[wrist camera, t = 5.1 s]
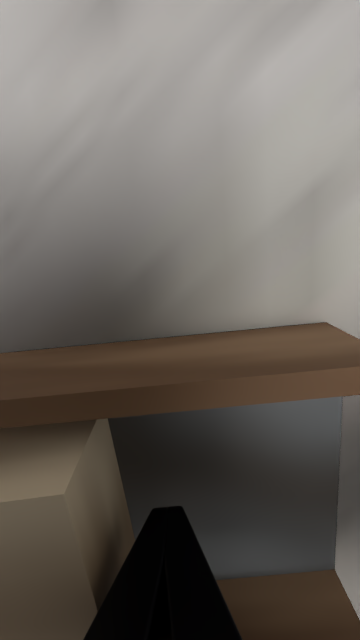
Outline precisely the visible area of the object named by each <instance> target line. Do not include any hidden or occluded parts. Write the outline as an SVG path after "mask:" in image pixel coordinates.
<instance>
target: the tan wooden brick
mask: <svg viewBox="0 0 360 640" xmlns="http://www.w3.org/2000/svg"><path fill="white" fill-rule="evenodd" d="M134 542H135V538H134V533H133V529H132V524H131V520H130V515H129V511H128V507H127V502H126V498H125V493H124V489H123V484H122V480H121V476H120V471H119V467H118V462H117V458H116V453H115V449H114V445H113V440H112V436H111V431H110V427H109V422H108V418H106V419H95V420H85V421H74V422H63V423H53V424H42V425H31V426H21V427H10V428H0V640H83V639H84V637H85V635H86V633H87V631H88V629H89V627H90V625H91V623H92V622H93V620H94V618H95V616H96V614H97V612H98V610H99V608H100V606H101V605H102V603H103V601H104V599H105V597H106V595H107V593H108V591H109V589H110V587H111V586H112V584H113V582H114V580H115V578H116V576H117V574H118V572H119V570H120V568H121V567H122V565H123V563H124V561H125V559H126V557H127V555H128V553H129V551H130V549H131V548H132V546H133V544H134Z"/></svg>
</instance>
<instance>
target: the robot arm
mask: <svg viewBox="0 0 360 640" xmlns="http://www.w3.org/2000/svg"><path fill="white" fill-rule="evenodd" d="M83 640H243V639H242V637H241V635H240V633H239V630H238V628H237V626H236V624H235V622H234V619H233V617H232V615H231V613H230V610H229V608H228V606H227V604H226V602H225V599H224V597H223V595H222V593H221V590H220V588H219V586H218V584H217V582H216V579H215V577H214V575H213V573H212V570H211V568H210V566H209V564H208V562H207V559H206V557H205V555H204V553H203V550H202V548H201V546H200V544H199V542H198V539H197V537H196V535H195V533H194V530H193V528H192V526H191V524H190V522H189V519H188V517H187V515H186V513H185V510H184V508H183V507H182V506H169V507H158V508H153V509H152V510H151V512H150V513H149V515H148V517H147V519H146V521H145V523H144V525H143V527H142V529H141V531H140V532H139V534H138V536H137V538H136V540H135V542H134V544H133V546H132V548H131V549H130V551H129V553H128V555H127V557H126V559H125V561H124V563H123V565H122V567H121V568H120V570H119V572H118V574H117V576H116V578H115V580H114V582H113V584H112V586H111V587H110V589H109V591H108V593H107V595H106V597H105V599H104V601H103V603H102V605H101V606H100V608H99V610H98V612H97V614H96V616H95V618H94V620H93V622H92V623H91V625H90V627H89V629H88V631H87V633H86V635H85V637H84V639H83Z"/></svg>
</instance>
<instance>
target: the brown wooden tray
mask: <svg viewBox="0 0 360 640" xmlns="http://www.w3.org/2000/svg"><path fill="white" fill-rule="evenodd" d="M352 395H360V339H358V338H356V337H354V336H352V335H350V334H348V333H346V332H344V331H342V330H340V329H338V328H336V327H334V326H332V325H330V324H328V323H326V322H325V323H315V324H304V325H293V326H283V327H272V328H262V329H251V330H241V331H230V332H220V333H209V334H198V335H188V336H177V337H167V338H156V339H146V340H135V341H125V342H114V343H103V344H93V345H82V346H72V347H61V348H51V349H40V350H30V351H19V352H8V353H0V428H10V427H21V426H31V425H42V424H53V423H63V422H74V421H85V420H95V419H106V418H108V422H109V427H110V431H111V436H112V440H113V445H114V449H115V453H116V458H117V462H118V467H119V471H120V476H121V480H122V484H123V489H124V493H125V498H126V502H127V507H128V511H129V515H130V520H131V524H132V529H133V533H134V538H135V540H136V538H137V536H138V534H139V532H140V531H141V529H142V527H143V525H144V523H145V521H146V519H147V517H148V515H149V513H150V512H151V510H152V509H153V508H158V507H169V506H182V507H183V508H184V510H185V513H186V515H187V517H188V519H189V522H190V524H191V526H192V528H193V530H194V533H195V535H196V537H197V539H198V542H199V544H200V546H201V548H202V550H203V553H204V555H205V557H206V559H207V562H208V564H209V566H210V568H211V570H212V573H213V575H214V577H215V579H216V582H217V584H218V586H219V588H220V590H221V593H222V595H223V597H224V599H225V602H226V604H227V606H228V608H229V610H230V613H231V615H232V617H233V619H234V622H235V624H236V626H237V628H238V630H239V633H240V635H241V637H242V639H243V640H360V620H359V618H358V616H357V614H356V612H355V610H354V608H353V606H352V604H351V602H350V600H349V598H348V596H347V594H346V592H345V590H344V588H343V586H342V584H341V582H340V580H339V578H338V576H337V574H336V571H335V548H336V527H337V505H338V484H339V462H340V441H341V420H342V398H343V396H352Z"/></svg>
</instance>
